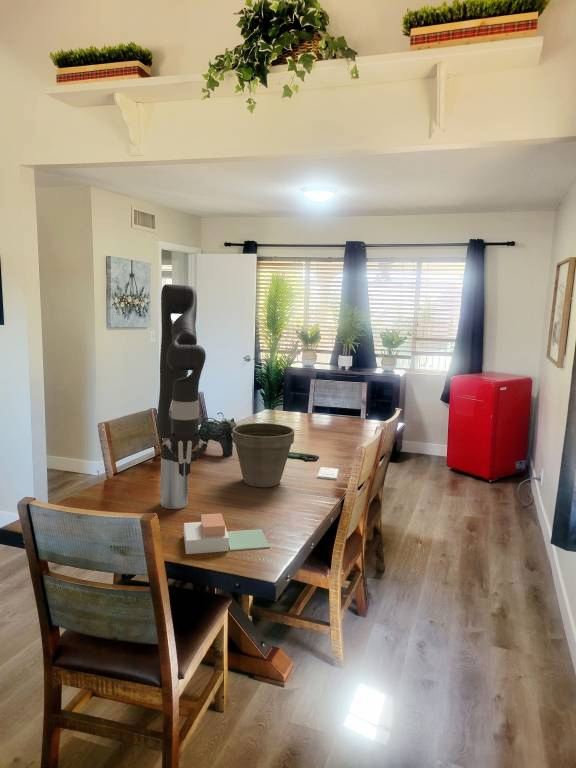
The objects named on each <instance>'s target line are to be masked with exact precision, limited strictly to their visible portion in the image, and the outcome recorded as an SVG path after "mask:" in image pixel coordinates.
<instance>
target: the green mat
mask: <svg viewBox="0 0 576 768" xmlns="http://www.w3.org/2000/svg"><path fill="white" fill-rule="evenodd" d="M227 533H228V536H229V551H230V552H233V551H245V550H246V551H247V550H262V549H270V544H269V542H268V540H267V538H266V536H265V534H264V531H263V529H261V528H259V529H258V528H257V529H243V530H230V531H228V530H227Z"/></svg>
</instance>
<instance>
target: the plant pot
mask: <svg viewBox="0 0 576 768" xmlns="http://www.w3.org/2000/svg"><path fill="white" fill-rule="evenodd" d="M232 439H233V443H234V445H235V450H236V454H237V459H238V462H239V466H240V471H241V474H242V475H241V477H242V479H243V482H244V483H245V484H247V485H248V486H251V487H256V488H270V487H274V486H277V485H279V484H280V482H281V480H282V478H283V473H284V470H285V468H286V463H287V460H288V458H287V457H288V454H289V452H291V451H290V449H291V446H292V445H293V444H294V441H295V429H294V428H292V427H291V426H287V425H283V424H281V423H280V424H278V423H270V422H269V423H268V422H253V423H252V422H250V423H242V424H239V425H237V426H235V427H234V428H233V429H232Z"/></svg>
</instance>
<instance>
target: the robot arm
mask: <svg viewBox="0 0 576 768" xmlns="http://www.w3.org/2000/svg"><path fill="white" fill-rule="evenodd" d="M197 305H198V298H197V291H196V289H195V287H193V286H190V285H186V284H185V285H182V284H170V283H169V284H168V283H167V284H163V286H162V289H161V295H160V310H161V311H160V313H161V314H160V316H161V317H160V318H161V339H160V340H161V341H160V354H159V355H160V357H159V395H158V405H157V414H156V432H157V433H156V434H157V435H158V437H159V438H160V439H168V440H167V441H165V442H163V443H161V451H160V506H161V507H162V508H163V509H166V510H180V509H183V508H186V507H187V506H188V501H189V499H188V497H189V474H190V473H191V464H192V463H193V462H197V460H198V459H199V458H200V456H201V455H202V454H203V451H204V450H205V449H206V450H207V448H206V447H208V443H206V442H203V441H202V440H201V439H200V436H199V434H198V433H199V428H200V426H199V423H200V421H199V420H200V418H199V417H200V405H199V384H200V379H201V376H202V371H203V369H204V366H205V363H206V357H207V356H206V354H207V353H206V350H205V348H204V347H203V346H201V345H200V344H198V338H197V331H196V321H197V309H198V306H197ZM174 314H175V315H179V316H178V317H177V318H176V319H175V320H174V322H173V320H172V315H174ZM189 371H191V372H190V374H189ZM198 443H199V444H198ZM196 446H197V449H196V451H195V452H194V453H193V454H192V451H193V450H194V449H195V448H196ZM198 447H199V448H198ZM204 452H205V451H204Z"/></svg>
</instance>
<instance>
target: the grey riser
mask: <svg viewBox="0 0 576 768" xmlns="http://www.w3.org/2000/svg"><path fill="white" fill-rule="evenodd" d="M224 524H225V522H224ZM227 531H228V530H227V526H226V524H225V536H213V537H204V535H203V531H202V526H201V521H195V522H184V523H183V540H184V547H185V554H186V555H192V554H206V553H207V554H208V553H217V552H219V553H220V552H221V553H222V552H229V551H230V548H229V536H228V533H227Z"/></svg>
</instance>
